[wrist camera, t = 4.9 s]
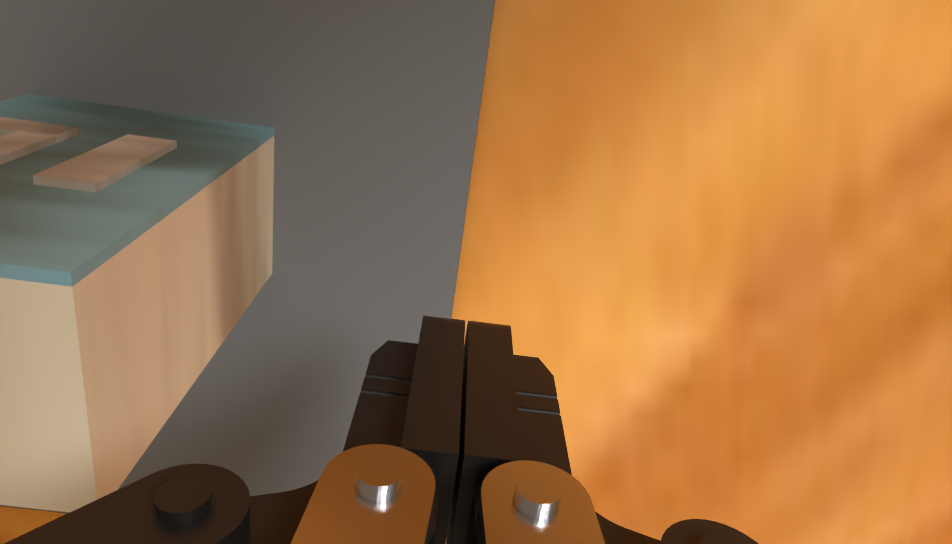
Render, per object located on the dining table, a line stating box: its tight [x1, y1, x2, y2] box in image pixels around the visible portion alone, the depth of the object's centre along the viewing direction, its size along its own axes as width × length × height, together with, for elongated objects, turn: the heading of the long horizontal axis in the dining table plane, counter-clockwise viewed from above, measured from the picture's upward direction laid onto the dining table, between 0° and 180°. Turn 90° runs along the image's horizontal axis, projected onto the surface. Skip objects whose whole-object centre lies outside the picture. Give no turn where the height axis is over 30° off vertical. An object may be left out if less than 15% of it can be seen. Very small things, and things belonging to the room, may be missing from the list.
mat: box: [0, 0, 495, 513], centre depth 18 cm, size 22×19×1 cm
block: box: [0, 94, 275, 512], centre depth 13 cm, size 6×4×9 cm
